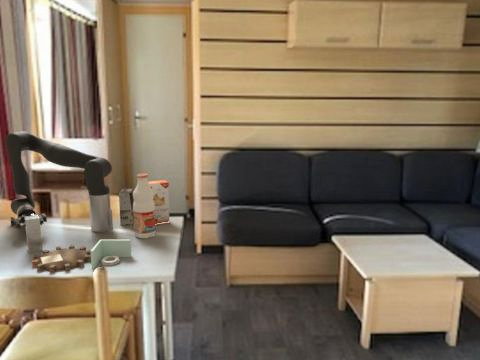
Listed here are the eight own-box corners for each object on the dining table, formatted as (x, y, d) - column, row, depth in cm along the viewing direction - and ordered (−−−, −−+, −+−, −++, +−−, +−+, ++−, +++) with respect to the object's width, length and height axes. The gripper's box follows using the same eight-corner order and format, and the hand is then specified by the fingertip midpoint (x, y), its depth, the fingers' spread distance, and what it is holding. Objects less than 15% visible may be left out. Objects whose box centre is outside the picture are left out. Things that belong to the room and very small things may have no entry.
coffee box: (133, 224, 215) (132, 192, 211) (120, 225, 214) (118, 192, 211) (136, 219, 224) (134, 188, 220) (123, 219, 223) (121, 188, 220)
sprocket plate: (85, 246, 187) (85, 242, 187) (98, 264, 169) (97, 259, 169) (29, 256, 176) (28, 251, 176) (36, 277, 158) (35, 271, 158)
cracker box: (142, 228, 211) (140, 185, 206) (138, 224, 216) (136, 182, 211) (170, 223, 217) (168, 181, 213) (165, 220, 222) (164, 179, 218)
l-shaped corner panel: (91, 269, 166) (90, 251, 165) (101, 257, 178) (100, 239, 176) (124, 269, 166) (123, 251, 165) (131, 257, 178) (130, 239, 176)
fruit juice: (139, 230, 207) (137, 171, 200) (159, 232, 205) (156, 172, 198) (130, 237, 198) (127, 176, 191) (150, 239, 196) (148, 177, 189)
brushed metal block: (40, 246, 186) (37, 214, 183) (42, 250, 182) (39, 218, 179) (27, 249, 184) (24, 216, 181) (29, 253, 180) (25, 220, 177)
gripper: (8, 208, 199) (10, 218, 185) (42, 204, 206) (47, 213, 192) (9, 224, 201) (12, 235, 187) (44, 219, 208) (49, 230, 194)
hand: (30, 224), depth 190 cm, fingers open, 8 cm apart
